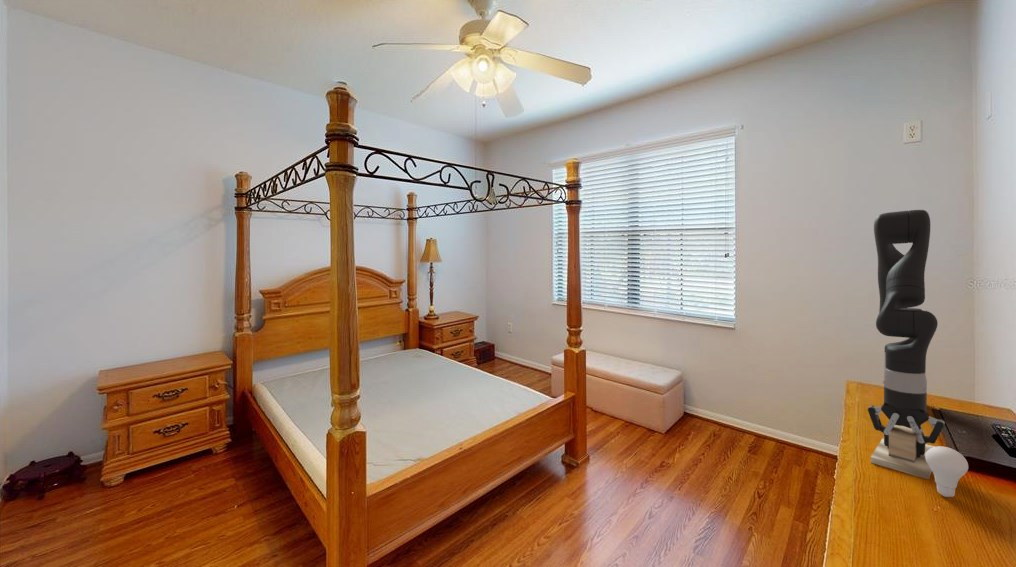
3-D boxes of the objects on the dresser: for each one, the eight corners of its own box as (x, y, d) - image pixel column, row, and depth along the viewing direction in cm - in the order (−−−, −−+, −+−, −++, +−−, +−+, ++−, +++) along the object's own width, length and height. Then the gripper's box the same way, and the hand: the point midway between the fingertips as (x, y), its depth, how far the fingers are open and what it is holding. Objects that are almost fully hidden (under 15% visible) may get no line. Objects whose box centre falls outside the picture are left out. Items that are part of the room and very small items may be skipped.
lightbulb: (964, 494, 82) (965, 446, 82) (970, 509, 78) (971, 458, 77) (923, 484, 87) (923, 438, 86) (926, 497, 82) (927, 449, 81)
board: (884, 439, 107) (885, 434, 107) (938, 452, 99) (938, 447, 99) (870, 462, 96) (870, 456, 96) (928, 479, 88) (928, 473, 88)
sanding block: (894, 445, 101) (894, 423, 100) (919, 451, 97) (919, 429, 97) (888, 455, 96) (888, 433, 96) (914, 462, 92) (914, 439, 92)
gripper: (949, 390, 92) (948, 457, 93) (869, 377, 104) (869, 437, 105) (946, 398, 88) (944, 468, 89) (863, 384, 99) (862, 446, 100)
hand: (903, 451), depth 97 cm, fingers closed on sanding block, 4 cm apart
